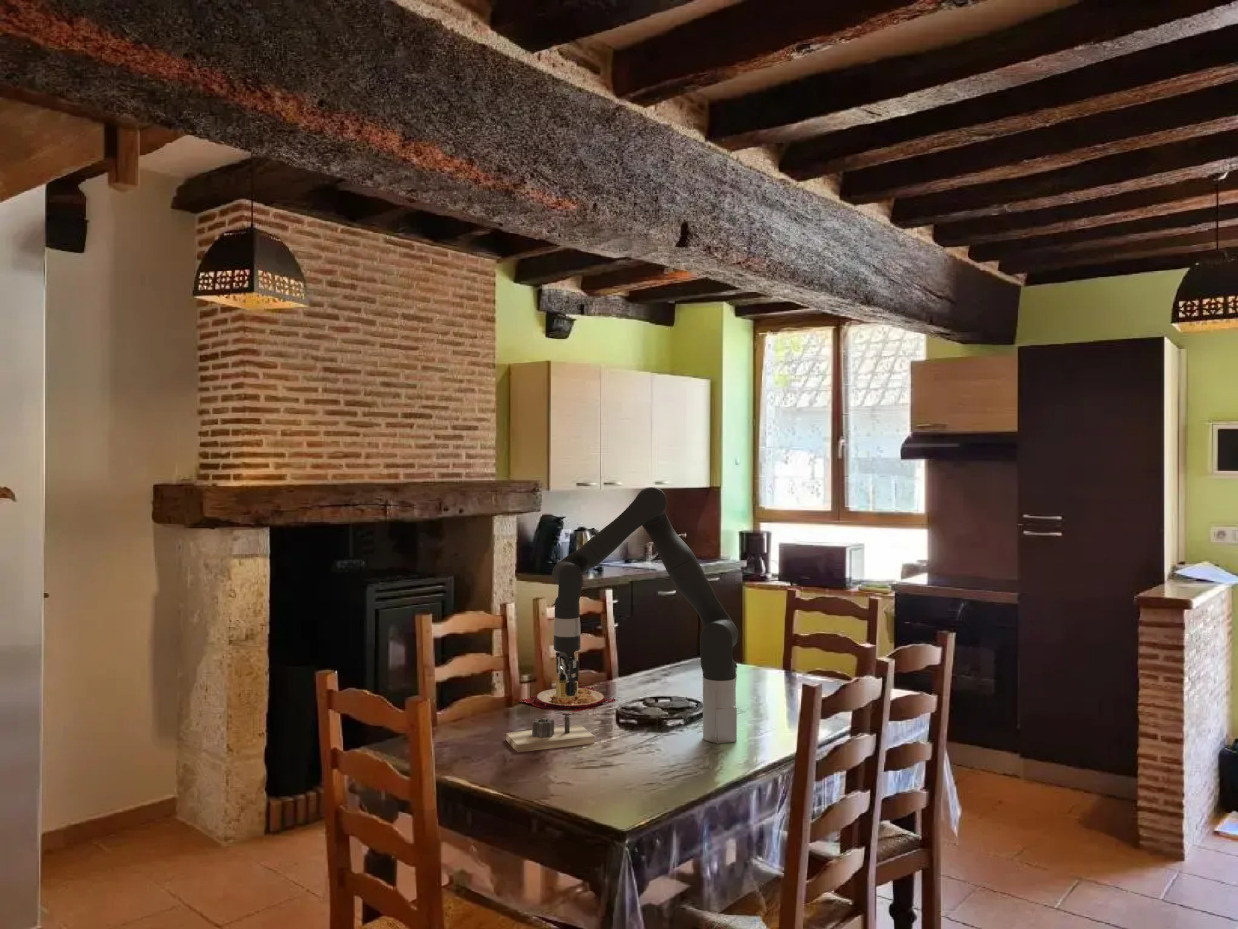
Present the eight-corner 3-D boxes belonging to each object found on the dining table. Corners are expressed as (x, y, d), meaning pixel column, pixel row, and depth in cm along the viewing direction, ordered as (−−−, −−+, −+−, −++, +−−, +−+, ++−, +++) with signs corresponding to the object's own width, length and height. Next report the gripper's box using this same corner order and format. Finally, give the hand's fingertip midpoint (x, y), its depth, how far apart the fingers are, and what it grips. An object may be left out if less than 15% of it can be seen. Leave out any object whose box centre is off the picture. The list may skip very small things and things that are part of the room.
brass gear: (580, 697, 260) (580, 683, 260) (560, 699, 258) (560, 684, 258) (573, 692, 266) (573, 678, 266) (553, 694, 264) (554, 680, 264)
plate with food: (518, 705, 304) (518, 694, 304) (576, 689, 322) (575, 679, 322) (567, 719, 287) (567, 708, 287) (625, 702, 305) (625, 691, 305)
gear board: (594, 743, 259) (594, 719, 259) (517, 752, 251) (517, 728, 251) (580, 731, 270) (580, 709, 270) (506, 740, 262) (506, 717, 262)
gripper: (588, 636, 257) (588, 698, 257) (571, 628, 270) (571, 686, 270) (562, 638, 254) (561, 700, 254) (546, 629, 268) (546, 688, 268)
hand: (567, 692), depth 262 cm, fingers closed on brass gear, 6 cm apart
